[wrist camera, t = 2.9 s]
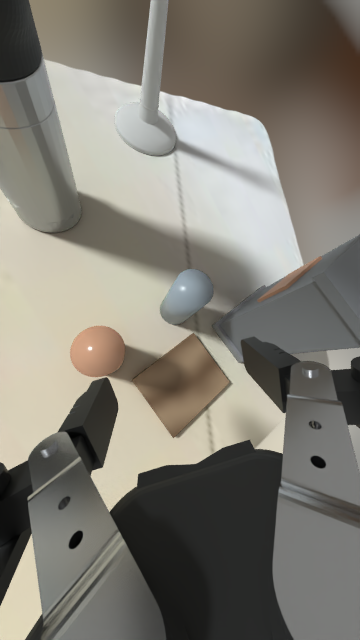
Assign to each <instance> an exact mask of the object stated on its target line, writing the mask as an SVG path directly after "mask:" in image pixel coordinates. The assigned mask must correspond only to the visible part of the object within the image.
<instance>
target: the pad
mask: <svg viewBox="0 0 360 640" xmlns="http://www.w3.org/2000/svg"><path fill="white" fill-rule="evenodd" d="M132 381H133V382H134V384H135V385H136V386H137V388H138V389H139V391H140V392H141V393H142V395H143V396H144V398H145V399H146V400H147V402H148V403H149V405H150V406H151V407H152V409H153V410H154V412H155V413H156V414H157V416H158V417H159V419H160V420H161V422H162V423H163V424H164V426H165V427H166V429H167V430H168V431H169V433H170V434H171V436H172V437H173V438H174V437H175V436H176V435H177V434H178V433H179V432H180V431H181V430H182V429H183V428H184V427H185V426H186V425H187V424H188V423H189V422H190V421H191V420H192V419H193V418H194V417H195V416H196V415H197V414H198V413H199V412H200V411H201V410H202V409H203V408H204V407H205V406H206V405H207V404H208V403H209V402H210V401H211V400H212V399H213V398H214V397H215V396H216V395H217V394H219V393H220V392H221V391H222V390H223V389H224V388H225V387H226V386H227V385H228V384H229V383H230V382H229V381H228V379H227V378H226V377H225V375H224V374H223V372H222V371H221V370H220V368H219V367H218V366H217V364H216V363H215V361H214V360H213V359H212V357H211V356H210V355H209V353H208V352H207V350H206V349H205V348H204V346H203V345H202V344H201V342H200V341H199V340H198V338H197V337H196V335H195V334H194V333H193V334H191V335H190V336H189V337H187V338H186V339H185V340H183V341H182V342H181V343H179V344H178V345H177V346H176V347H174V348H173V349H172V350H170V351H169V352H168V353H166V354H165V355H164V356H163V357H161V358H160V359H159V360H157V361H156V362H155V363H153V364H152V365H151V366H150V367H148V368H147V369H146V370H144V371H143V372H142V373H140V374H139V375H138V376H137V377H135V378H134V379H133V380H132Z"/></svg>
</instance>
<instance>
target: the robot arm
mask: <svg viewBox="0 0 360 640" xmlns="http://www.w3.org/2000/svg"><path fill="white" fill-rule="evenodd" d="M0 189H1V190H2V192H3V193H4V195H5V196H6V198H7V199H8V201H9V202H10V204H11V205H12V207H13V208H14V210H15V211H16V212H17V214H18V215H19V217H20V218H21V220H22V221H24V222H25V223H26V224H27V225H29V226H30V227H32V228H34V229H37V230H39V231H43V232H52V233H54V232H61V231H65V230H68V229H70V228H72V227H73V226H74V225H75V224H76V223H77V222H78V221H79V219H80V217H81V211H82V210H81V204H80V200H79V196H78V193H77V189H76V184H75V180H74V176H73V172H72V168H71V164H70V160H69V156H68V153H67V149H66V145H65V141H64V137H63V133H62V129H61V125H60V121H59V117H58V113H57V109H56V105H55V101H54V98H53V94H52V90H51V86H50V82H49V78H48V74H47V70H46V66H45V62H44V58H43V55H42V50H41V46H40V42H39V38H38V35H37V31H36V28H35V23H34V20H33V16H32V12H31V8H30V4H29V0H0ZM241 348H242V354H243V360H244V365H245V368H246V370H247V372H248V374H249V375H250V376H251V377H252V378H253V379H254V380H255V381H256V383H257V384H258V385H259V386H260V387H261V388H262V389H263V391H264V392H265V393H266V394H267V395H268V396H269V397H270V398H271V400H272V401H273V402H274V403H275V404H276V405H277V406H278V408H279V409H280V410H281V411H282V412H283V413H285V412H286V420H285V434H284V448H283V454H282V453H278V452H275V451H270V450H263V449H254V447H253V445H252V444H251V442H250V440H247V441H244V442H240V443H237V444H234V445H231V446H227V447H224V448H222V449H220V450H219V451H217V452H215V453H214V454H212V455H210V456H209V457H207V458H206V459H204V460H202V461H201V462H199V463H197V464H190V465H166V466H163V467H159V468H156V469H153V470H150V471H146V472H143V473H140V474H138V483H137V487H135V488H134V489H132V490H131V491H130V492H128V493H127V494H126V495H125V496H124V497H123V498H122V499H121V500H120V501H119V502H118V503H117V504H116V505H115V506H114V507H113V508H112V510H111V511H110V512H109V511H108V509H107V507H106V505H105V503H104V501H103V500H102V498H101V496H100V494H99V492H98V490H97V488H96V486H95V484H94V482H93V481H92V479H91V477H90V476H91V472H92V470H96V469H99V468H102V467H103V465H104V461H105V457H106V454H107V450H108V446H109V443H110V439H111V435H112V431H113V428H114V424H115V420H116V417H117V413H118V402H117V398H116V396H115V393H114V391H113V388H112V386H111V384H110V381H109V379H108V378H107V377H106V378H102V379H99V380H95V381H93V382H92V383H91V385H90V387H89V388H88V390H87V392H85V393H84V394H83V395H82V396H80V397H79V398H78V399H77V401H76V403H75V404H74V406H73V408H72V409H71V411H70V414H68V416H67V418H66V419H65V421H64V422H63V424H62V426H61V427H60V429H59V431H58V432H57V433H55V434H53V435H51V436H49V437H47V438H46V439H44V440H43V441H42V442H40V443H39V444H38V445H37V446H36V447H35V448H34V449H33V451H32V452H31V454H30V455H29V458H28V461H26V462H24V463H22V464H20V465H18V466H16V467H14V468H12V469H10V470H7V469H6V467H5V466H4V464H3V463H0V606H1V603H2V601H3V599H4V596H5V594H6V592H7V589H8V587H9V585H10V582H11V580H12V578H13V575H14V573H15V571H16V568H17V566H18V564H19V561H20V559H21V557H22V554H23V552H24V550H25V548H26V545H27V543H28V541H29V538H30V536H31V534H32V538H33V546H34V553H35V561H36V568H37V576H38V583H39V591H40V598H41V606H42V615H41V616H40V618H39V619H38V621H37V622H36V624H35V625H34V627H33V628H32V630H31V631H30V633H29V634H28V636H27V637H26V639H25V640H360V473H359V469H358V465H357V461H356V457H355V453H354V449H353V445H352V441H351V438H350V433H349V429H348V425H356V426H357V427H359V428H360V357H356V358H354V359H353V360H352V361H351V369H343V370H330V369H329V368H328V367H327V366H325V365H323V364H321V363H318V362H312V361H303V362H301V361H300V360H298V359H297V358H295V357H293V356H292V355H290V354H289V353H287V352H285V351H284V350H282V349H280V348H279V347H278V346H276V345H275V344H272V343H268V342H262V341H260V340H259V339H257V338H256V337H254V336H253V337H249V338H246V339H242V340H241Z"/></svg>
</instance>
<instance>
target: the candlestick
mask: <svg viewBox="0 0 360 640" xmlns="http://www.w3.org/2000/svg"><path fill="white" fill-rule="evenodd" d="M167 10H168V0H151V5H150V14H149V23H148V32H147V42H146V51H145V61H144V69H143V79H142V88H141V96H140V103H139V102H133V103H128V104H125V105H123V106H122V107H120V108H119V109H118V110H117V112H116V114H115V128H116V130H117V133H118V134H119V136H120V137H121V138H122V140H123V141H124V142H125V143H126V144H128V145H129V146H130V147H132V148H133V149H135V150H137V151H139V152H141V153H144V154H148V155H154V156H159V155H164V154H167V153H169V152H170V151H171V150H172V149H173V148H174V146H175V143H176V132H175V130H174V127H173V125H172V124H171V122H170V121H169V119H168V118H167V117H166V116H165V115H164V114H163V113H162V112H161V111H159V110H158V107H159V105H158V104H159V93H160V81H161V71H162V61H163V51H164V41H165V30H166V19H167Z"/></svg>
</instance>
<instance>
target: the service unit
mask: <svg viewBox="0 0 360 640" xmlns="http://www.w3.org/2000/svg"><path fill="white" fill-rule="evenodd" d="M212 327H213V328H214V330H215V331H216V333H217V334H218V335H219V337H220V338H221V339H222V341H223V342H224V343H225V345H226V346H227V348H228V349H229V350H230V352H231V353H232V354H233V356H234V357H235V358H236V360H237V361H238V363H239V362H244V360H243V354H242V348H241V340H242V339H246V338H249V337H253V336H254V337H256V338H257V339H259V340H260V341H262V342H268V343H272V344H275V345H276V346H278V347H279V348H280V349H282V350H284V351H285V352H287V353H289V354H293V353H304V352H315V351H326V350H337V349H348V348H359V347H360V235H358V236H356V237H355V238H353V239H351V240H349V241H348V242H346V243H344V244H342V245H340V246H339V247H337V248H335V249H333V250H332V251H330V252H328V253H327V254H325V255H323V256H320V257H318V258H316V259H314V260H313V261H311V262H309V263H307V264H306V265H304V266H302V267H300V268H299V269H297V270H295V271H293V272H292V273H290V274H288V275H287V276H286V277H284V278H282V279H280V280H279V281H277V282H275V283H273V284H272V285H270V286H268V287H266V286H265V285H264V286H262V287H261V288H259V289H258V290H257V291H255V292H254V293H253V294H251V295H250V296H249V297H248V298H246V299H245V300H244V301H243V302H241V303H240V304H239V305H238V306H236V307H235V308H234V309H232V310H231V311H230V312H229V313H227V314H226V315H225V316H224V317H222V318H221V319H220V320H218V321H217V322H216V323H215V324H213V325H212Z"/></svg>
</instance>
